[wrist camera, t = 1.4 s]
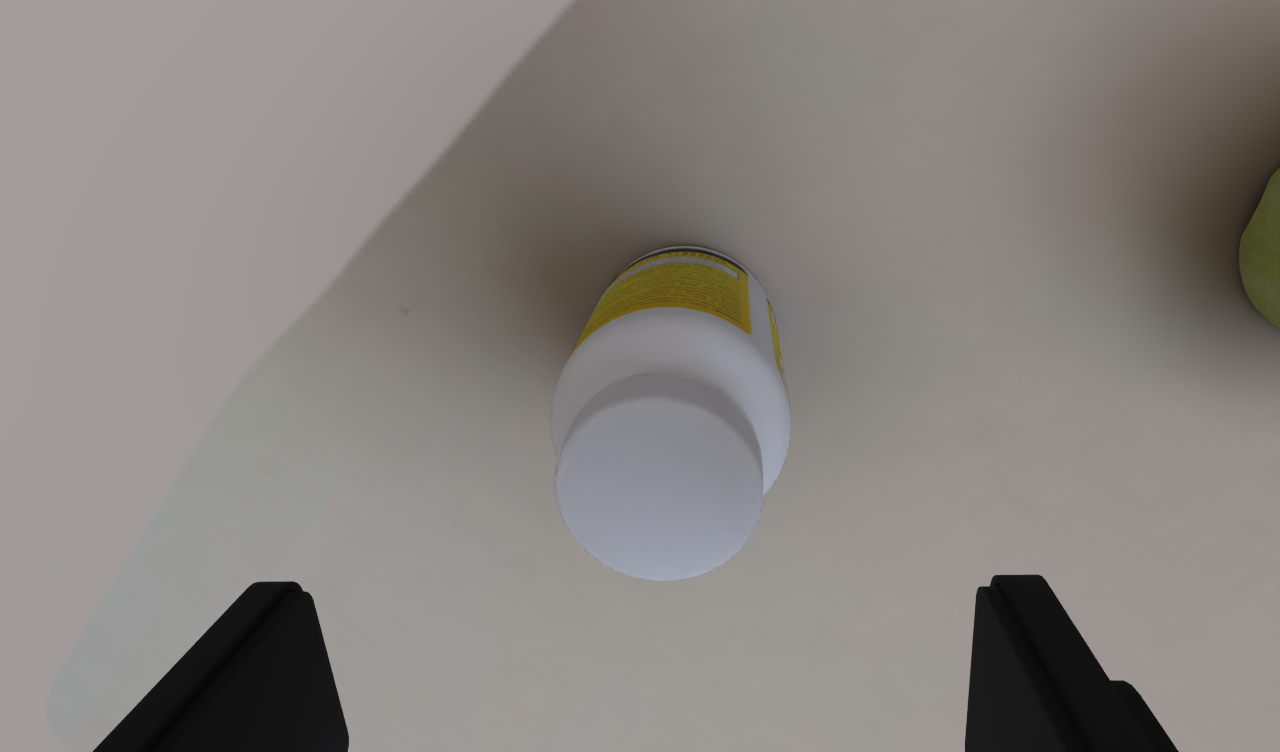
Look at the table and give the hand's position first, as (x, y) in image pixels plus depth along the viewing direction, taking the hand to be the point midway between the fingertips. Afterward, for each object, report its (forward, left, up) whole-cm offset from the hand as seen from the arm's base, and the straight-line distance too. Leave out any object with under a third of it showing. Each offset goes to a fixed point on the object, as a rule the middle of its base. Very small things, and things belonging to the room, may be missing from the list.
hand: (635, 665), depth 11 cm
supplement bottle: (0, 0, -14) cm, 14 cm away
